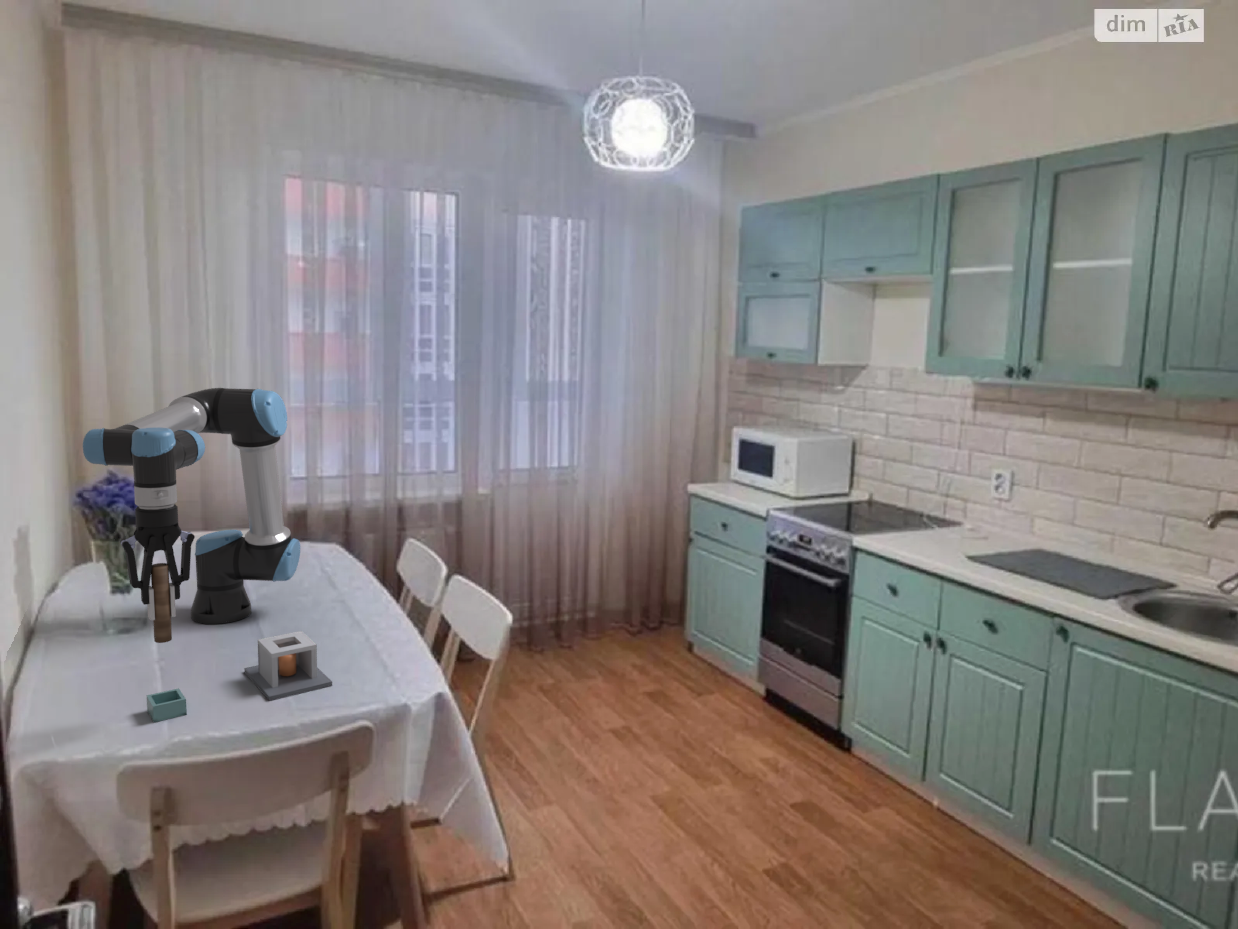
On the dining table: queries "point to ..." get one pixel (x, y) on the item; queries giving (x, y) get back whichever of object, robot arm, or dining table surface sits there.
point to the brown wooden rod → (161, 602)
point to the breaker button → (287, 665)
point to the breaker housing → (268, 666)
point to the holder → (166, 705)
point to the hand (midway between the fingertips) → (161, 616)
